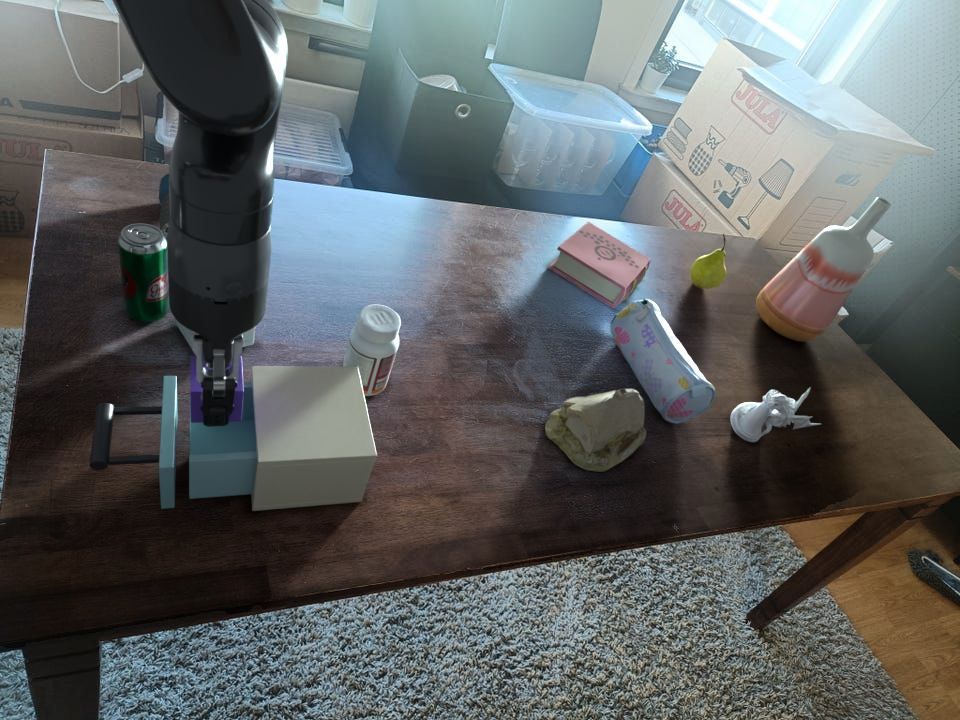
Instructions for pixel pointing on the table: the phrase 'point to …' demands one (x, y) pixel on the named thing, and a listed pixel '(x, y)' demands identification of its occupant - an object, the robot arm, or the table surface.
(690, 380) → the pencil case
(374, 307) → the pill bottle
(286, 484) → the block
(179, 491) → the table surface
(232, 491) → the drawer
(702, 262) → the fruit
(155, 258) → the soda can
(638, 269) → the book
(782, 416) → the figurine
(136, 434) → the table surface
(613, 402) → the beige rock
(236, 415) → the purple cube
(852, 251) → the vase
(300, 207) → the table surface
